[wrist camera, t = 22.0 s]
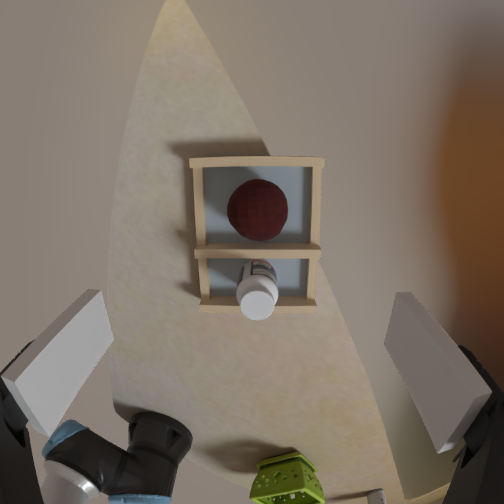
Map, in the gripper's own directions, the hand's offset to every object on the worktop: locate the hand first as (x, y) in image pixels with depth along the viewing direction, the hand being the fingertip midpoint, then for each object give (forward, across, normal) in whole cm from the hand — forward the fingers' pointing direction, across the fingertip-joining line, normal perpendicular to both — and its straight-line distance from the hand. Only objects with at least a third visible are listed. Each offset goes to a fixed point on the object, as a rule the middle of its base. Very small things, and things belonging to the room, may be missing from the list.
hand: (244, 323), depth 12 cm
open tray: (+29, 0, -4) cm, 29 cm away
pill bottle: (+28, 0, -10) cm, 30 cm away
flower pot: (+29, +8, -63) cm, 70 cm away
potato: (+28, 0, 0) cm, 28 cm away
